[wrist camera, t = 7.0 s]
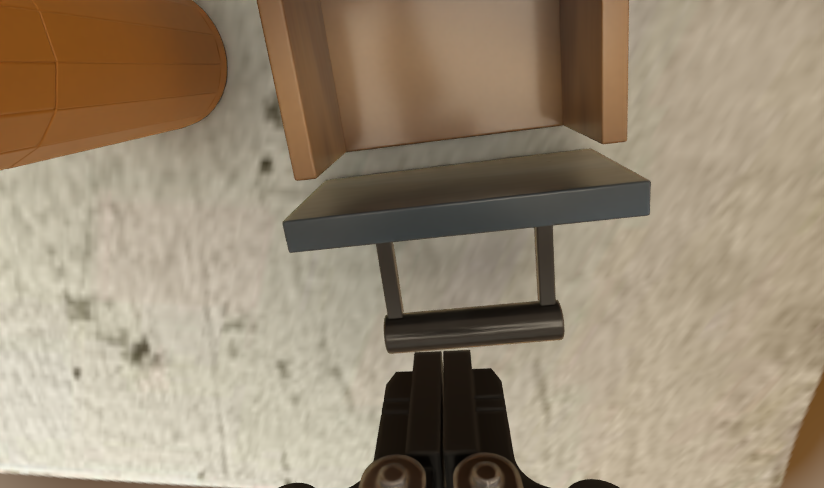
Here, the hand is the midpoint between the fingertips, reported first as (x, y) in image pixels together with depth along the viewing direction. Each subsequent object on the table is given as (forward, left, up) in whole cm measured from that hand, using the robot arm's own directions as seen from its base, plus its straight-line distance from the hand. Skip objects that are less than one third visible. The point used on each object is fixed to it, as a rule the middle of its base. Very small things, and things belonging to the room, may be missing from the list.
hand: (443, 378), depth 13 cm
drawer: (+1, +7, -12) cm, 13 cm away
